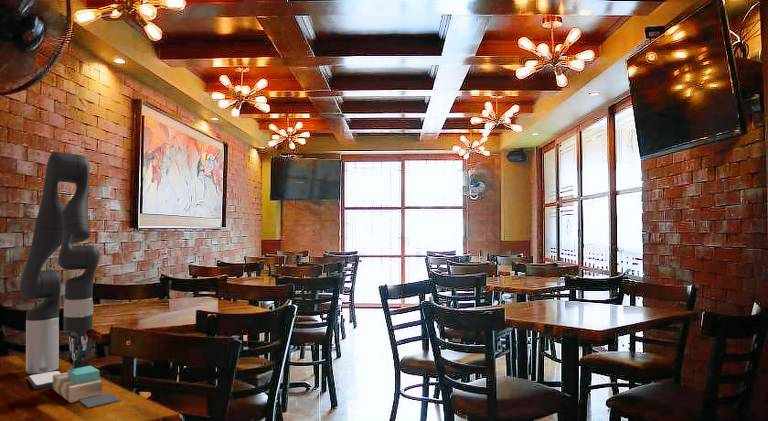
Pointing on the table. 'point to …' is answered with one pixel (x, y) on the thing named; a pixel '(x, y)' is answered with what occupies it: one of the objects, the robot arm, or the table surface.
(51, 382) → the phone case
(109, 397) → the mat
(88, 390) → the board
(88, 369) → the turquoise rectangular block
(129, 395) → the table surface
